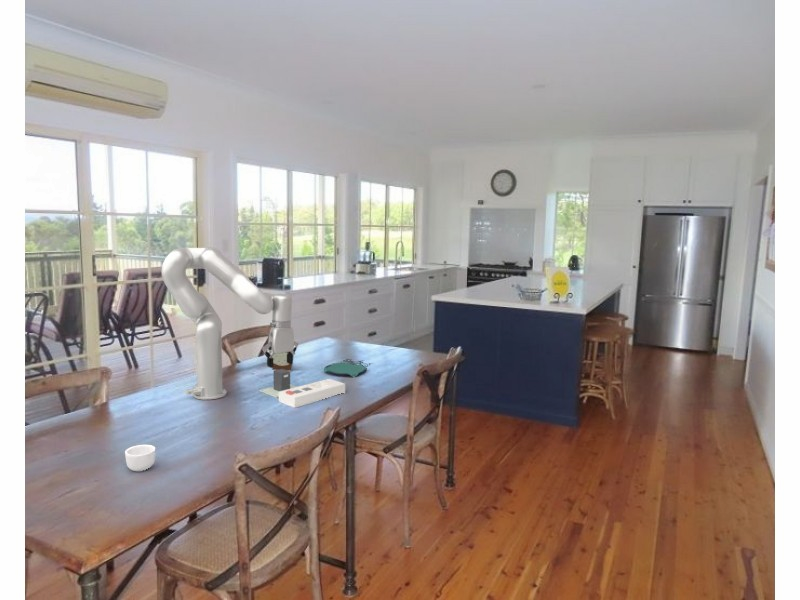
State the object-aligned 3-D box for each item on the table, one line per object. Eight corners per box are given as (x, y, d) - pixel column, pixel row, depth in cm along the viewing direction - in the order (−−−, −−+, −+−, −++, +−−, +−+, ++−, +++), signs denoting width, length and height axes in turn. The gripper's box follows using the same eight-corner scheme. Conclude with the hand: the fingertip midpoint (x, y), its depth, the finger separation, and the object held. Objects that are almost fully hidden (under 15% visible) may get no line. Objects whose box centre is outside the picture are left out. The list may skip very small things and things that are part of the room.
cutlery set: (316, 374, 252) (317, 370, 252) (343, 360, 281) (343, 356, 280) (356, 380, 246) (356, 375, 246) (379, 365, 275) (379, 360, 274)
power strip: (294, 407, 207) (294, 395, 206) (278, 401, 214) (278, 389, 213) (345, 393, 227) (345, 381, 226) (329, 387, 233) (329, 376, 232)
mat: (276, 398, 218) (276, 396, 218) (259, 391, 226) (259, 390, 226) (304, 390, 228) (304, 389, 228) (286, 384, 236) (286, 383, 236)
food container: (298, 367, 263) (298, 347, 261) (294, 371, 257) (294, 350, 255) (273, 366, 264) (273, 346, 262) (269, 369, 258) (269, 349, 256)
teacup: (162, 465, 157) (161, 447, 156) (139, 476, 150) (138, 457, 149) (137, 458, 161) (136, 441, 160) (114, 468, 154) (113, 450, 153)
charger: (281, 392, 223) (281, 373, 222) (273, 389, 227) (273, 370, 226) (290, 390, 227) (290, 371, 225) (282, 387, 230) (282, 368, 229)
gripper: (269, 327, 214) (267, 370, 216) (304, 324, 227) (302, 364, 229) (258, 324, 219) (256, 366, 221) (292, 321, 232) (291, 360, 234)
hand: (279, 365), depth 225 cm, fingers open, 9 cm apart
